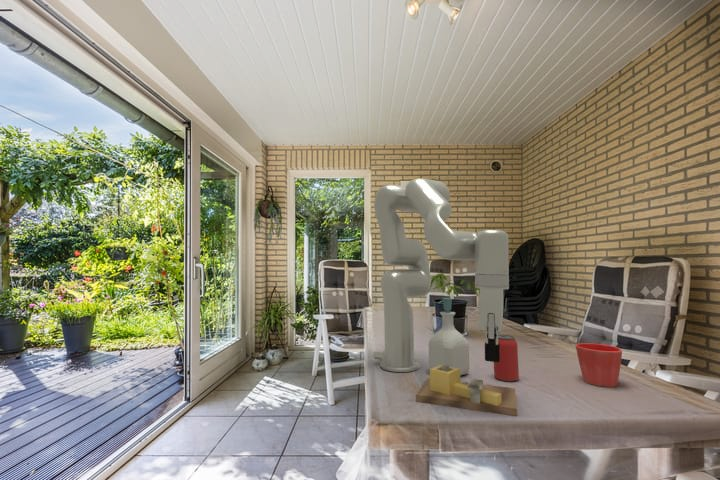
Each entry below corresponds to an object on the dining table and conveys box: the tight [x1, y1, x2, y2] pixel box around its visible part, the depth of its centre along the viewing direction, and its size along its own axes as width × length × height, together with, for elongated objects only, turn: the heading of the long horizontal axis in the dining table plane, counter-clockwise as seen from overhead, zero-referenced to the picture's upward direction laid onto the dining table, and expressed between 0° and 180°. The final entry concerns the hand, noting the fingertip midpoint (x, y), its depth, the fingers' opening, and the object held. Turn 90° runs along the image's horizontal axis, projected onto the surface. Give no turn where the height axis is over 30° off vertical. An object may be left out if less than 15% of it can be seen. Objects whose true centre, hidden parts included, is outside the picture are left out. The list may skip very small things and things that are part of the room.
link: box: [429, 365, 502, 406], centre depth 81 cm, size 16×5×5 cm, turn 45°
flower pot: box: [575, 342, 623, 388], centre depth 95 cm, size 11×11×10 cm
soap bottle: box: [428, 297, 470, 377], centre depth 105 cm, size 10×10×23 cm
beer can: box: [493, 334, 520, 383], centre depth 99 cm, size 7×7×12 cm
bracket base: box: [415, 365, 518, 417], centre depth 84 cm, size 22×14×7 cm, turn 67°
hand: (492, 360), depth 80 cm, fingers closed
